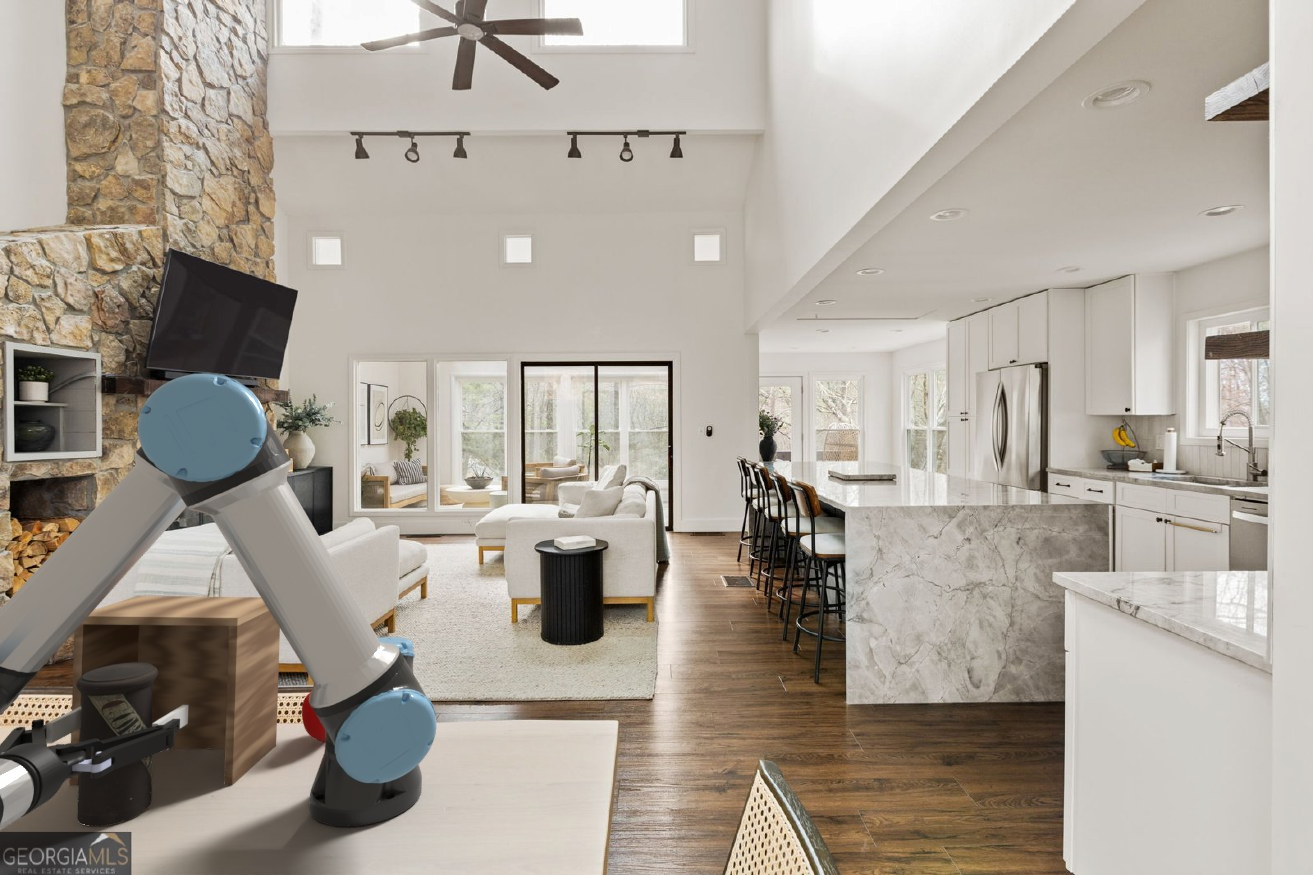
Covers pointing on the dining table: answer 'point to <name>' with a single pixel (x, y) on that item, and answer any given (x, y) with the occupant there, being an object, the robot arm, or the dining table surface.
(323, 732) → the heart
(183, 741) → the cubby
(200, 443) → the robot arm
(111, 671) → the container
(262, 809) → the dining table surface
